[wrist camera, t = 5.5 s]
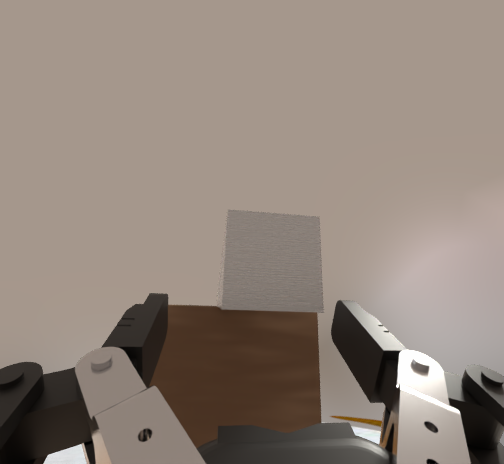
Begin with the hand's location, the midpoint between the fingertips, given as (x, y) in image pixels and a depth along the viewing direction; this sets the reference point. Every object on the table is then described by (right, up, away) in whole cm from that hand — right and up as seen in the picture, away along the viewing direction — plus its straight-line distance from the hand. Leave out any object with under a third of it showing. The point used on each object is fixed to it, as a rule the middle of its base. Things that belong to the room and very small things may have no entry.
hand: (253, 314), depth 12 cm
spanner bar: (-1, -3, +10) cm, 11 cm away
